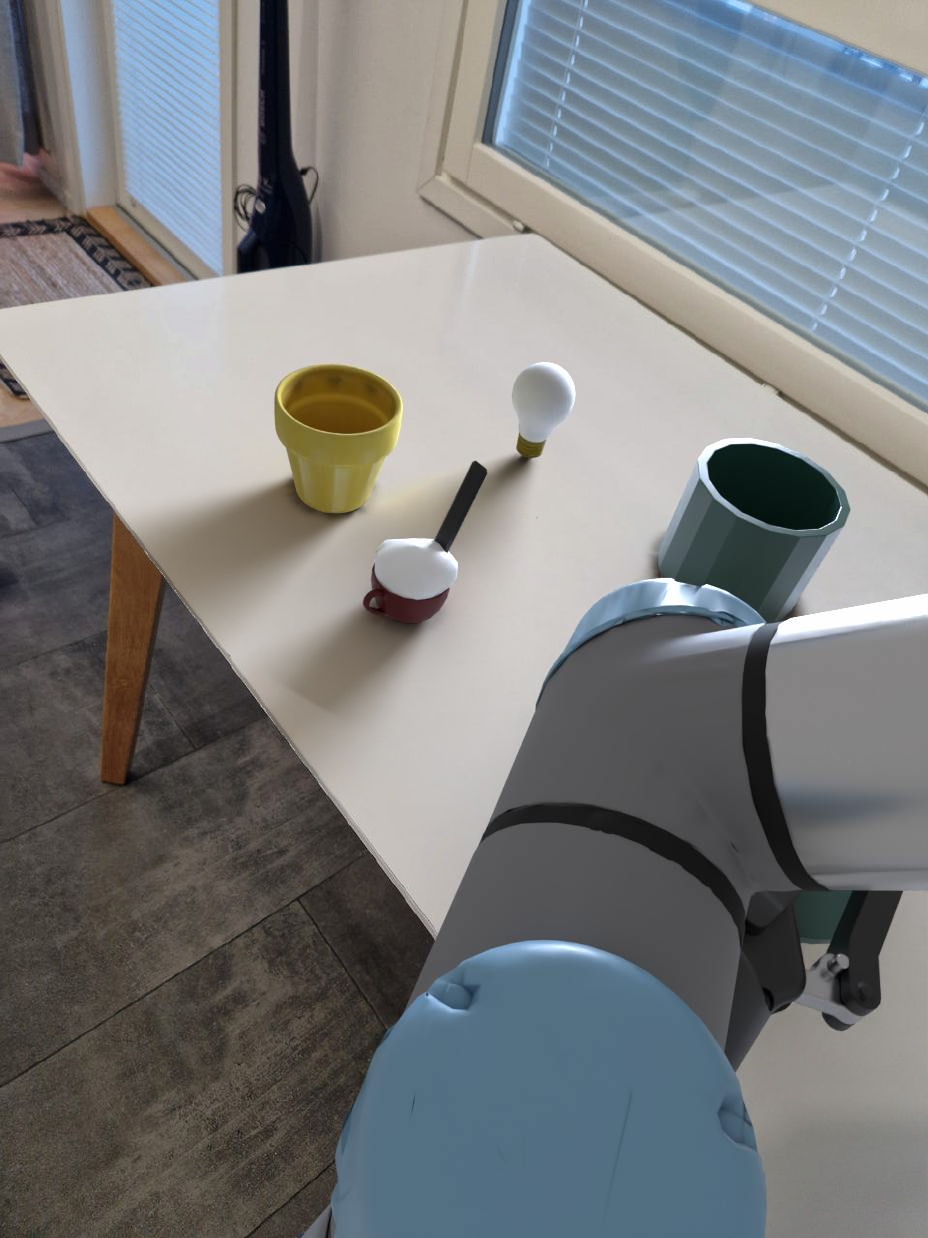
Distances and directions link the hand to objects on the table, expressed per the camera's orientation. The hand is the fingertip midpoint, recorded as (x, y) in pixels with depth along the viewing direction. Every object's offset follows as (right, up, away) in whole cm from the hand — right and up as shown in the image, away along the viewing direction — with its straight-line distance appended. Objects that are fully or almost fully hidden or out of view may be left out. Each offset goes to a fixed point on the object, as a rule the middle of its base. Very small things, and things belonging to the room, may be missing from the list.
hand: (871, 693), depth 45 cm
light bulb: (-15, +20, +41) cm, 48 cm away
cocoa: (-25, +5, +24) cm, 36 cm away
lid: (-5, -7, +1) cm, 8 cm away
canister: (+2, +8, +33) cm, 34 cm away
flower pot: (-33, +15, +32) cm, 49 cm away
